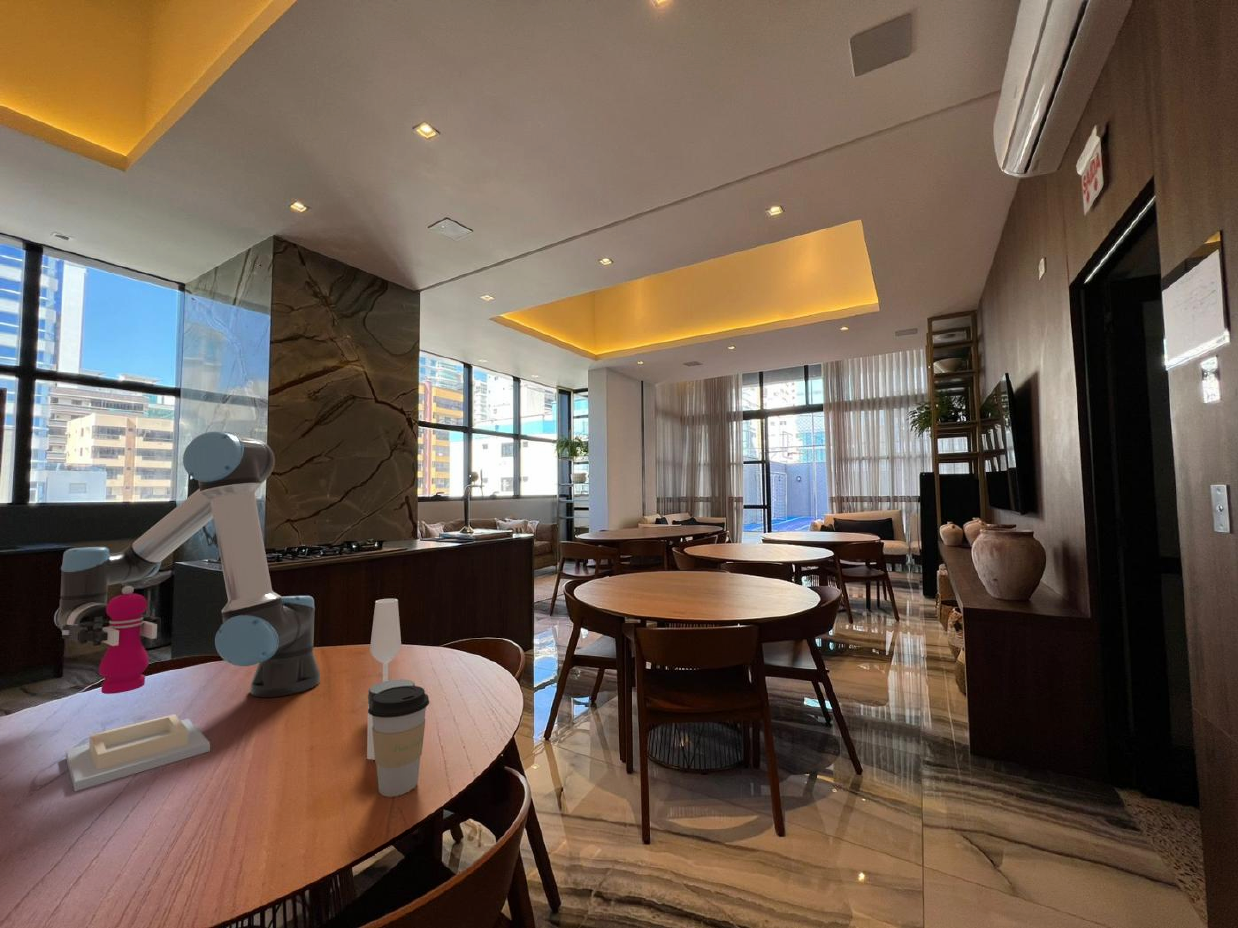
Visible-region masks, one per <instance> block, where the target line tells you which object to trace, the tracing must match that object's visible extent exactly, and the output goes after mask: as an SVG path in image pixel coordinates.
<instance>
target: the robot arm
mask: <svg viewBox="0 0 1238 928" xmlns="http://www.w3.org/2000/svg"><path fill="white" fill-rule="evenodd" d="M182 455H183V456H182V464H183V468H184V470H185V471H186V473H187V474H188V476H190V477H191V478H193V479H194V480H195V481H197V483H198V489H197V490H196V491H194V492H193V493H191V495H189V496H188V497H187V498H186V499H185V500H184V501H182V502H180V504H179V505H177V506H176V507H175V508H173V510H170V512H169V513H168V514H166V515H165V516H163V518H161V519H160V520H159V521H158V522H157V523H155V524H154V525H153V526H151V527H150V529H147V530H146V531H145V532H144V533H143V534H142V535H141V536H139V537H138V538H137V539H135V540H134V542H132V543H131V544H130V545H129V546H127V547H126V548H124V550H122V551H120V552H111V553H110V549H109V548H108V547H106V546H90V547H89V546H87V547H74V548H69V549H66V550H65V551H64V552H63V555H62V565H61V566H60V570H61V579H60V599H59V607H58V608H57V610H56V611H55V612H54V616H53V621H54V624H55V626H57V628H58V629H59V630H60V631H61V633H62V634H61V639H64V640H70V641H73V642H74V643H77V644H78V645H79V644H80V645H83V644H84V645H85V644H87V643H88V642H89V643H90V642H91V643H92V644H91V645H92V647H96V646H100V645H102V643H105V644H107V645H108V646H110V645H112V646H116V645H119V630H116V629H113V628H110V627H109V626H110V623H109V621H111V620H112V619H111V617H109V616H108V615H107V612H106V608H107V605H108V603H107V602H108V599H107V598H108V587H109V586H111V585H112V586H113V585H115V584H122V583H129V582H135V581H141V580H144V579H147V578H150V577H152V576H154V575H155V574H157V573H158V572H159V570H160V568H161V565H162V561H164V560H165V559H166V558H167V557H169V556H170V555H171V554H172V553H173V552H175V550H176V549H178V548H179V547H180V546H181V545H183V544H184V543H185V542H186V541H188V540H189V539H190V538H192V536H193V535H195V534H196V533H197V532H198V531H199V530H201V529H202V528H203V527H205V526H206V525H207V524H208V523H209V522H211V521H212V520H213V522H214V529H215V535H216V540H217V546H218V550H219V556H220V563H221V566H222V567H221V569H222V573H223V580H224V584H225V591H226V595H227V603H226V604H225V606H224V607H223V608H222V609H221V617H222V624H221V625H220V627H219V629H218V630H217V632H216V634H215V637H214V644H215V645H214V646H215V649H216V652H217V654H218V655H219V656H220V657H221V659H222V660H224V661H225V662H226V663H227V662H228V663H229V664H232V665H233V666H236V667H251V666H254V665H257V667H256V670H255V672H254V675H253V678H252V679H251V683H250V695H251V696H254V697H257V698H275V697H277V698H278V697H283V696H290V695H294V694H298V693H301V692H305V691H307V689H308V690H310V689H309V688H311V689H312V688H314V686H315V687H316V686H318V685H319V684H320V683H321V672H320V671H321V670H320V668H319V665H318V663H317V660H316V658H315V657H316V656H315V655H314V640H315V639H314V638H315V637H314V636H315V635H314V634H315V633H314V632H315V611H316V607H315V599H314V598H313V596H311V595H287V596H281V595H280V594H278V593H277V592H275V591H274V590H273V588H272V581H271V576H270V572H269V564H268V560H267V556H266V555H267V554H266V549H265V548H266V547H265V545H264V539H263V533H262V527H261V526H262V525H261V520H260V516H259V511H258V510H259V509H258V504H257V500H256V495H255V494H256V491H257V490H258V489H259V488H260V487H261V485H262V484H263V483H264V482H265V481H266V480H267V479H268V478H269V476H270V475H272V473H273V471H274V467H275V465H276V464H275V463H276V462H275V460H276V459H275V454H274V452H273V450H272V449H271V447H270V446H269V445H268V444H267V443H265V442H264V441H263V440H261V439H259V438H255V437H251V436H250V437H249V436H246V435H245V436H244V435H241V434H235V433H233V432H228V431H207V432H204V433H202V434H201V433H200V434H199V435H197V436H195V438H193V439H192V440H191V441H190V443H189V444H188V445H187V446H186V448H185V449H184V452H183V454H182ZM141 617H143V619H142V620H143V621H142V622H143V624H141V625H140V637H141V636H142V637H144V638H147V639H150V640H153V639H157V636H158V632H160V631H161V620H162V619H161V617H157V616H153V615H150V614H149V613H145V612H144V613H143V614H142V615H141ZM319 682H320V683H319ZM318 683H319V684H318ZM317 684H318V685H317Z"/></svg>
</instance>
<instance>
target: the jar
mask: <svg viewBox="0 0 1238 928" xmlns="http://www.w3.org/2000/svg"><path fill="white" fill-rule="evenodd" d="M399 686H416V684H415V682H414V681H413V680H409V679H403V678H402V679H391V680H388V681H385V682H383V681H381V682H378V683H376V684H373V685H372V686H371V687H370V688H368V694H367V700H368V702H367V703H368V707H367V710H368V709H369V705H370V703H371V702H372V701H373V698H374V696H375V695H376V694H377V693H379V692H381V691H383V690H386V689H389V688H393V687H399ZM372 727H373V719H372V715H370V714H369V713H368V712H367V733H366V734H367V739H366V740H367V744H366V746H367V748H366V759H375V754H374V743H373V732H372Z"/></svg>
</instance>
